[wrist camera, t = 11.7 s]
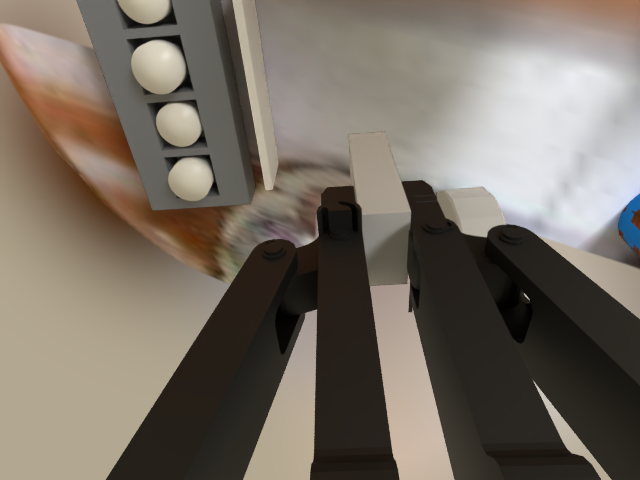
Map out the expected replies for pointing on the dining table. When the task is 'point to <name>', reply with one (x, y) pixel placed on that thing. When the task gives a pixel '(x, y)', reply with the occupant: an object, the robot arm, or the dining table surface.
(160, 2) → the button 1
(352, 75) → the dining table surface
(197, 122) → the button
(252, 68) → the card
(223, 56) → the board
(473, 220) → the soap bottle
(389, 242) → the robot arm
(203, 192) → the button
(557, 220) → the dining table surface
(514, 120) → the dining table surface
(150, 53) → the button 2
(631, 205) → the thermos
